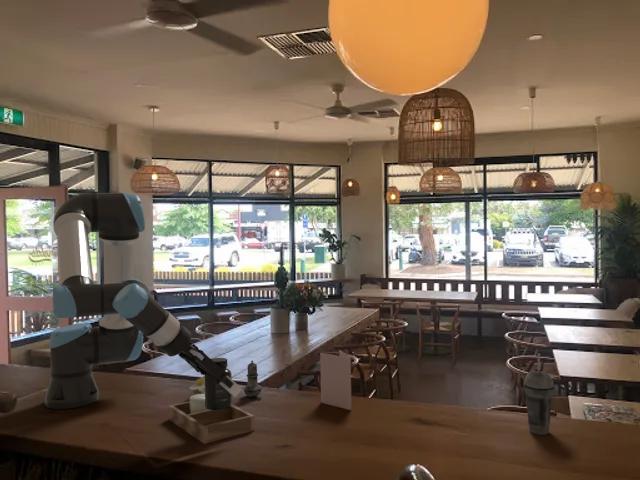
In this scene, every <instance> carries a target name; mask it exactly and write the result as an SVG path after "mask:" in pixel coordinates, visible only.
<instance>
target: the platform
mask: <svg viewBox="0 0 640 480" xmlns="http://www.w3.org/2000/svg"><path fill="white" fill-rule="evenodd" d="M188 387H189V388H188V389H189V390H193V391H192V392H193V393H192V394H193V395H196V394H205V384H204V375H202V377H200V378H198V379H196V380H195V383H194V384H193V385H191V386H188ZM193 395H192V396H193Z"/></svg>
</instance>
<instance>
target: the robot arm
mask: <svg viewBox="0 0 640 480" xmlns="http://www.w3.org/2000/svg"><path fill="white" fill-rule="evenodd" d="M145 226H146V221H145V214H144V207H143V203H142V200H141V199H140V197H139V196H138V195H137V194H136V193H127V192H126V193H125V192H82V193H78V194H76V195H73V196H72V197H70V198H68V199H66V201H64V202H63V203H62V204H61V205H60V206H59V208H58V209H57V211H56V213H55V215H54V217H53V232H54V234H55V235H56V236H57V239H58V259H59V261H58V262H59V277H60V279H59V280H60V286H54V287H53V289H52V314H53V316H54V317H55V318H57V319H62V318H64V319H66V318H67V319H69V318H70V319H75V318H84V317H94V316H103V317H102V318H100V319H99V321H98V326H96V327H95V326H94V327H93V326H92V324H91V323H89V322H82V323H81V322H80V323H75V324H69V325H66V326H62V327H59V328H56V329H55V330H53V331H52V332H51V334H50V337H49V349H50V356H49V357H50V381H49V384H48V387H47V390H46V394H45V396H44V406H45V407H46V408H49V409H54V410H64V409H75V408H81V407H85V406H88V405H91V404H93V403H95V402H97V401H99V398H100V391H99V388H98V385H97V384H96V380H95V378H94V374H93V366H97V365H98V366H99V365H106V364H117V363H126V362H130V361H135V360H137V359H138V358H139V357H140V356H141V353H142V349H143V343H144V336H146V338H148V340H147V342H148V344H149V343H150V344H151V343H153V344H154V345H156V346H157V347H159V350H161V351H162V352H163V353H164V354H166V355H167V356H168V357H172V358H173V357H175V356H178V357H180V358H181V359H183V361H185V362H186V363H187V364H188V365H189V366H190V367H192V368H193V369H194V370H195V372H197V373H199V374H200V375H201V376H204V375H205V372H207V373H208V374H210V375H211V376H212V377H213V378H215V379H216V380H217V383H216V384H217V385H219V384H220V385H221V386H222V387H223V388H225V389H226V390H227V391H228V392H229V393H230V394H231V395H232V397H234V398H236V397H237V396H238V395H239V394H240V392H241V391H242V390H243V387H241V386H240V385H239V384H237V382H235V381H234V380H233V378H232V379H231V378H230V377H229V376H227V375H228V373H227V372H225V371H224V370H223V369H222V368H221V367H219V366H218V365H217V364H216V363H215V362H214V361H213V360H211V359H212V358H210V357H209V355H207V354H206V353H205V352H204V350H202V349H199V346H197V345H196V344H195V343H193V344H192V343H191V339H192V333H191V331H190V330H189V329H188V328H186V326H185V325H183V324H181V322H180V321H179V320H178V319H177V318H176V317H175V316H174V315H173V314H172V313H170V312H169V311H168V310H166V309H165V308H164V307H163V306H162V305H161V304H160V303H159V302H158V301H157V300H156V299H155V298H154V297H153V295H152V294H151V292H150V290H149V288H148V286H147V285H146V284H145V283H143V282H142V281H141V280H139V279H137V278H134V272H135V271H134V267H135V266H134V264H135V263H134V262H135V261H134V260H135V258H134V257H135V256H134V255H135V254H134V253H135V252H134V251H135V250H134V248H135V247H134V246H135V243H136V241H137V240H139V238H140V233H142V232H145V230H146V229H145V228H146V227H145ZM90 233H98V239H99V240H100V241H101V242H103V276H104V277H103V283H99V284H98V283H97V284H95V282H94V281H95V280H94V274H93V272H94V271H93V265H92V257H91V247H90V239H89V235H90Z"/></svg>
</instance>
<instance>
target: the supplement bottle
mask: <svg viewBox="0 0 640 480" xmlns="http://www.w3.org/2000/svg"><path fill="white" fill-rule="evenodd" d="M210 359H211V360H213V361H214V362H215V363H216V364H217V365H218V366H219V367H221V368H222V369H223V370H224V371H225V372H227V373H228V375H227V376H229V377H230V378H231V379H232V380H233V376H232V371H231V370H230V369H229V368H228V366H229V365H228V364H229V363H228V358H225V357H214V358H210ZM203 376H204V384H205V407H206V408H207V409H209V410H224V409H227V408H229V407H231V405H232V404H233V395H231V394H230V393H229V392H228V391H227V390H226V389H225V388H223V387H222V386H221V385H220V384H219V385H217V384H216V383H217V380H216V379H215V378H213V377H212V376H211V375H210V374H208V373H207V372H205V374H204V375H203Z"/></svg>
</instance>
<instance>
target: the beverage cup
mask: <svg viewBox="0 0 640 480" xmlns="http://www.w3.org/2000/svg"><path fill="white" fill-rule="evenodd" d="M554 389H555V384H554V381H553V378H552V376H551V375H550V374H549V372H547V371H546V370H543V369H541V353H539V352H538V353H537V369H532V370H530V371H529V372H528V373H527V374H526V376H525V377H524V380H523V390H524V393H525V399H526V400H525V402H526V412H527V421H528V422H527V423H528V424H527V425H528V428H529V432H530V433H532V434H535V435H541V436H543V435H548V434H549V432H550V424H551V413H552V412H551V411H552V402H553V395H554V391H555V390H554Z"/></svg>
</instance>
